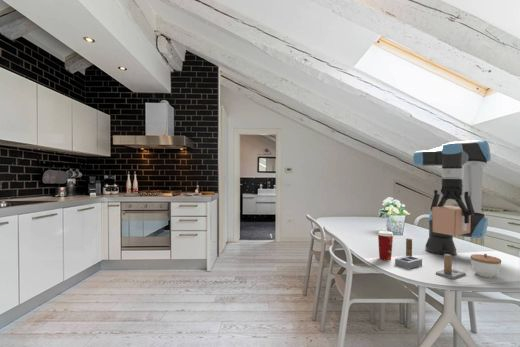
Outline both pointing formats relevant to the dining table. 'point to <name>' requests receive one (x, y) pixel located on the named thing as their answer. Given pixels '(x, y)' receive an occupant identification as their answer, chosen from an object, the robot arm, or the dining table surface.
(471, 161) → the robot arm
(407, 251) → the pin
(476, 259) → the lidded jar
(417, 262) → the grey hollow block
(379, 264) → the dining table surface
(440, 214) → the block
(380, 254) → the paper cup
